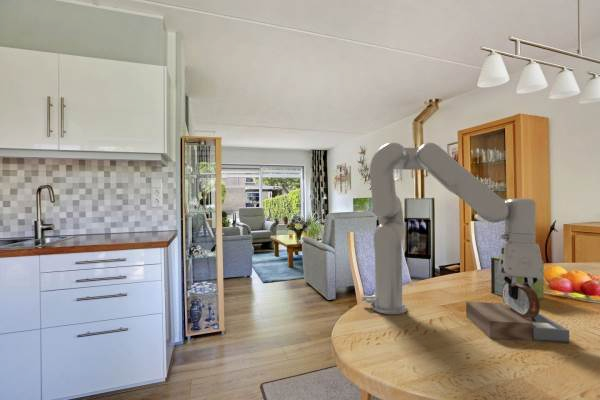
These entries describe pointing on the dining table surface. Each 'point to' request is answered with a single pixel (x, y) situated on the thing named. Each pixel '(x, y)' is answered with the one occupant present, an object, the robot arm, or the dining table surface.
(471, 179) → the robot arm
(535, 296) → the tin
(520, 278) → the protein box
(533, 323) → the cream tile
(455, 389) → the dining table surface
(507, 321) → the brown flat block
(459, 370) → the dining table surface
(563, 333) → the box
